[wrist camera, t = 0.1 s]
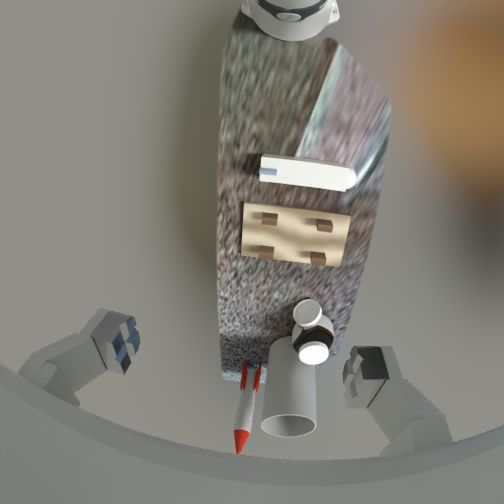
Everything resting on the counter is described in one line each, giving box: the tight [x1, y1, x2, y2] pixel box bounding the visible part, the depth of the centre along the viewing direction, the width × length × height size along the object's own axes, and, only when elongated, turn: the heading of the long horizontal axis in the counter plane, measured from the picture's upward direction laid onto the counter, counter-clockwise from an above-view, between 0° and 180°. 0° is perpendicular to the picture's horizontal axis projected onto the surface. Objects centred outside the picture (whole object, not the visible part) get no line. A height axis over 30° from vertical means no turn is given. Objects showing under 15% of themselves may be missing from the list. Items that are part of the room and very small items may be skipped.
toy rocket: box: [234, 361, 262, 454], centre depth 67 cm, size 6×6×30 cm
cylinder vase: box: [261, 336, 316, 437], centre depth 64 cm, size 12×12×25 cm
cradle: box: [241, 202, 351, 267], centre depth 57 cm, size 12×22×4 cm, turn 86°
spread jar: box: [292, 299, 334, 365], centre depth 64 cm, size 12×11×12 cm
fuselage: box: [259, 154, 357, 192], centre depth 49 cm, size 4×18×8 cm, turn 86°
